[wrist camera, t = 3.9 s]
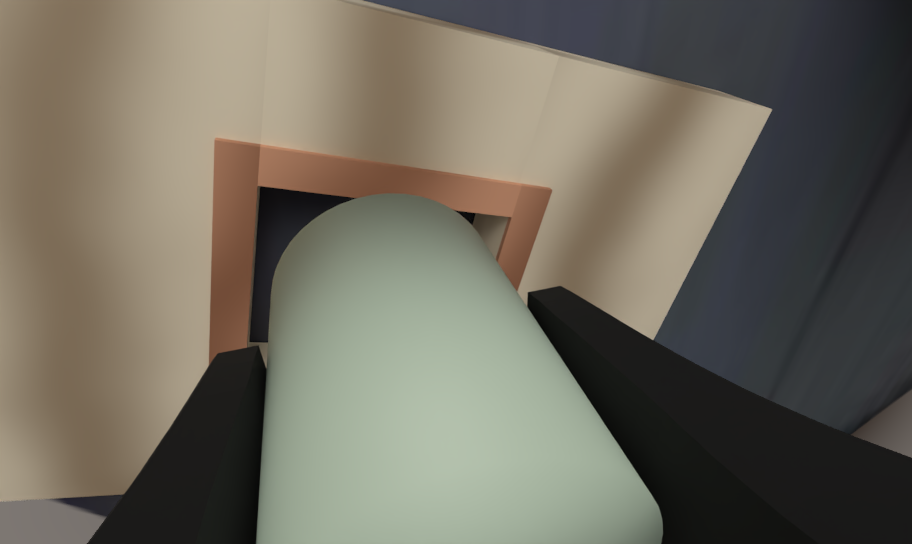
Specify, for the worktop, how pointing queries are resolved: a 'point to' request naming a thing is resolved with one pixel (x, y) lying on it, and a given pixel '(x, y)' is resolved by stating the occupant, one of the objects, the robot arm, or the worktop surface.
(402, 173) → the hole plate
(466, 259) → the green peg
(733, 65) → the worktop surface
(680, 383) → the robot arm
